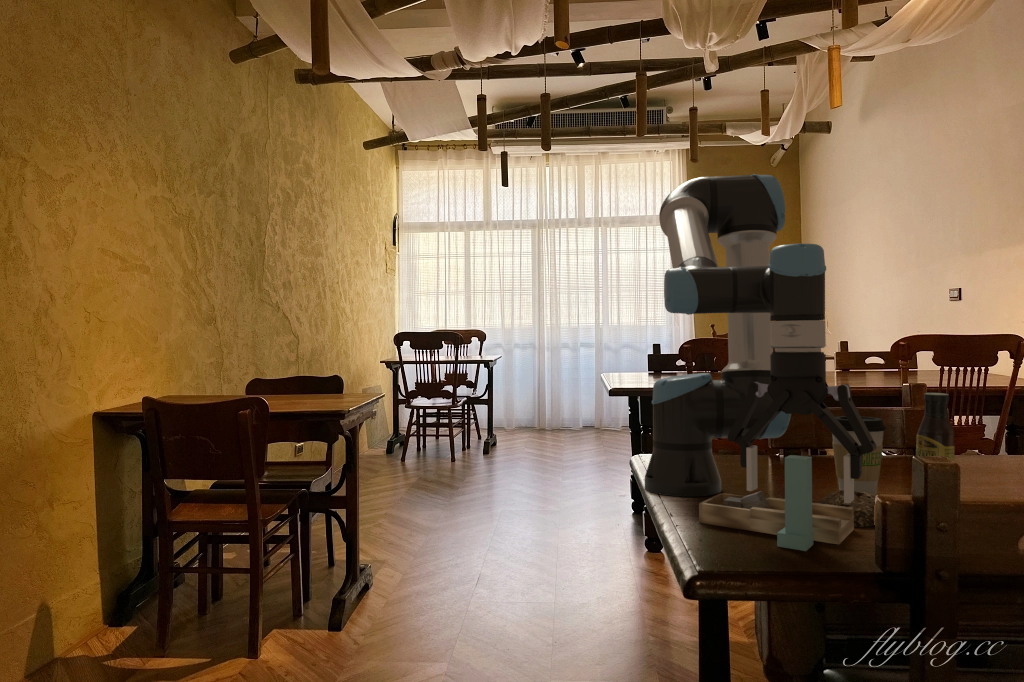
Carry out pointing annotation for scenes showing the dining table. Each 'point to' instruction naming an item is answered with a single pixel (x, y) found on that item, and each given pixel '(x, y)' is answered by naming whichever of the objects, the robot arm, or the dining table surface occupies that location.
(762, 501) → the chip
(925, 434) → the sauce bottle
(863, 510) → the bread roll
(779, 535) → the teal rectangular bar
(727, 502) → the chip
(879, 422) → the coffee cup
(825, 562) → the dining table surface
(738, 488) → the dining table surface
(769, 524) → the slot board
